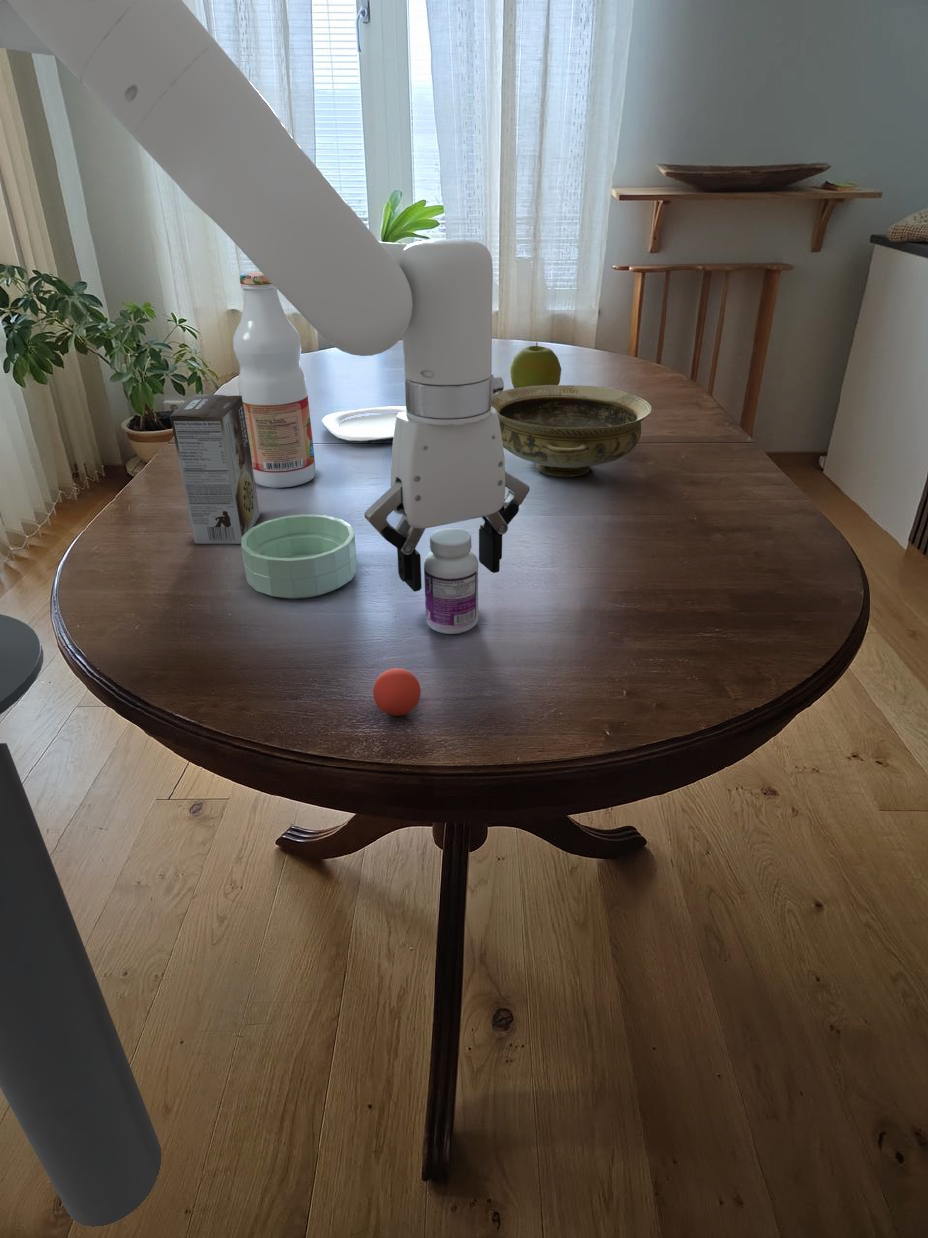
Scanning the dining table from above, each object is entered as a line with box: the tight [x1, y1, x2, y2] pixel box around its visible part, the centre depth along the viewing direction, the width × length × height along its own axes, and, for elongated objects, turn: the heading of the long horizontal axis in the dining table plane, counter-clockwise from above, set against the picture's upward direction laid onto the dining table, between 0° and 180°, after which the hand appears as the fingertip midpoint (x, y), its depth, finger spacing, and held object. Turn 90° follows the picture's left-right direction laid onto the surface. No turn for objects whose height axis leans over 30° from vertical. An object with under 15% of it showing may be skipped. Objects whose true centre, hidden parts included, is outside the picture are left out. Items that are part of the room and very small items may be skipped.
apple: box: [509, 341, 562, 389], centre depth 151 cm, size 10×10×11 cm
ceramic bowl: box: [491, 384, 653, 478], centre depth 117 cm, size 30×24×10 cm
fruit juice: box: [232, 271, 316, 489], centre depth 110 cm, size 9×9×28 cm
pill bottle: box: [423, 527, 479, 635], centre depth 78 cm, size 5×5×10 cm
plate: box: [321, 405, 406, 444], centre depth 137 cm, size 18×18×2 cm
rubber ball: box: [372, 667, 421, 717], centre depth 66 cm, size 4×4×4 cm
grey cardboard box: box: [169, 394, 261, 545], centre depth 97 cm, size 9×6×16 cm
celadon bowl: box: [240, 513, 358, 599], centre depth 88 cm, size 12×12×5 cm
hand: (451, 575), depth 77 cm, fingers open, 7 cm apart
